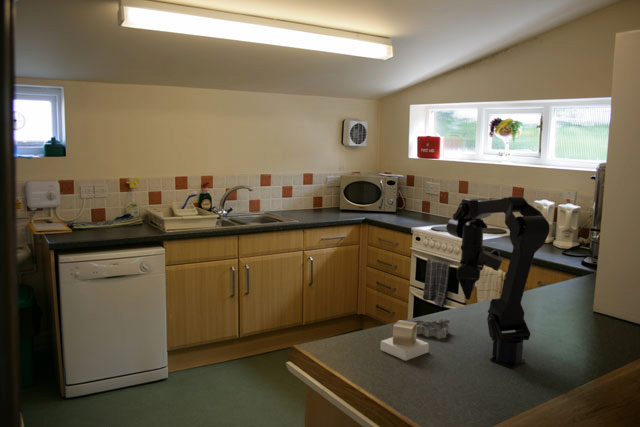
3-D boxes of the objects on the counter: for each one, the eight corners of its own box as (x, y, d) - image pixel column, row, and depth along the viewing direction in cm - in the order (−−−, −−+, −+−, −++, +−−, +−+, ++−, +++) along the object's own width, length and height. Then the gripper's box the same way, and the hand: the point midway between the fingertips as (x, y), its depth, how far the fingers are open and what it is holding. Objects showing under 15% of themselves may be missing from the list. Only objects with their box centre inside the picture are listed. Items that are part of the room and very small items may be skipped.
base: (428, 352, 143) (428, 343, 143) (405, 360, 138) (405, 351, 137) (403, 342, 150) (403, 333, 150) (380, 349, 145) (380, 340, 144)
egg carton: (450, 333, 159) (451, 319, 158) (443, 341, 152) (444, 327, 152) (416, 326, 164) (417, 313, 163) (408, 334, 157) (408, 320, 157)
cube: (411, 347, 140) (411, 328, 140) (392, 343, 142) (393, 325, 142) (416, 340, 145) (416, 322, 144) (398, 337, 147) (399, 320, 146)
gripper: (500, 250, 141) (497, 307, 143) (503, 238, 158) (500, 289, 161) (457, 247, 145) (454, 302, 147) (464, 235, 162) (462, 285, 165)
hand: (469, 294), depth 155 cm, fingers open, 9 cm apart
